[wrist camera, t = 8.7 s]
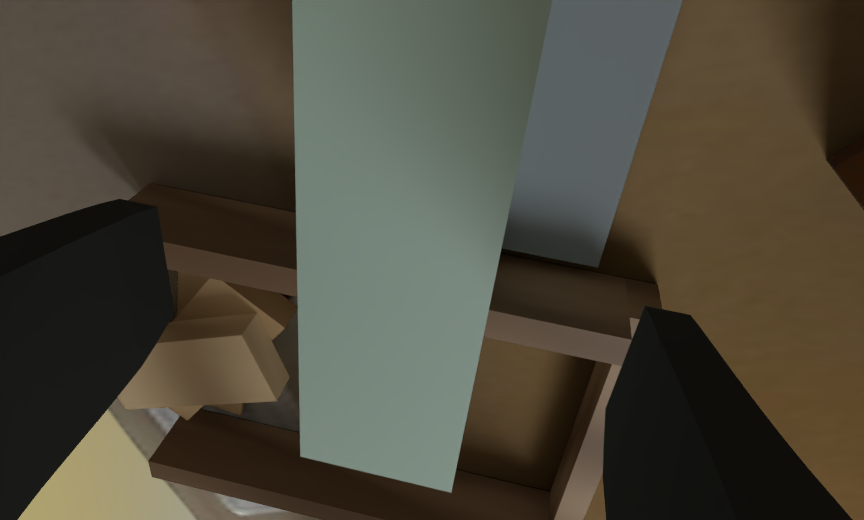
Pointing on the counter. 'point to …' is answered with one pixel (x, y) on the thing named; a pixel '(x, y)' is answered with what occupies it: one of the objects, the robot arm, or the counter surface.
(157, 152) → the counter surface
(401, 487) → the walnut rack
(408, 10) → the sage panel
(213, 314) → the offcut middle
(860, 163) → the food container
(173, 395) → the offcut top
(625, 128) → the slate mat
